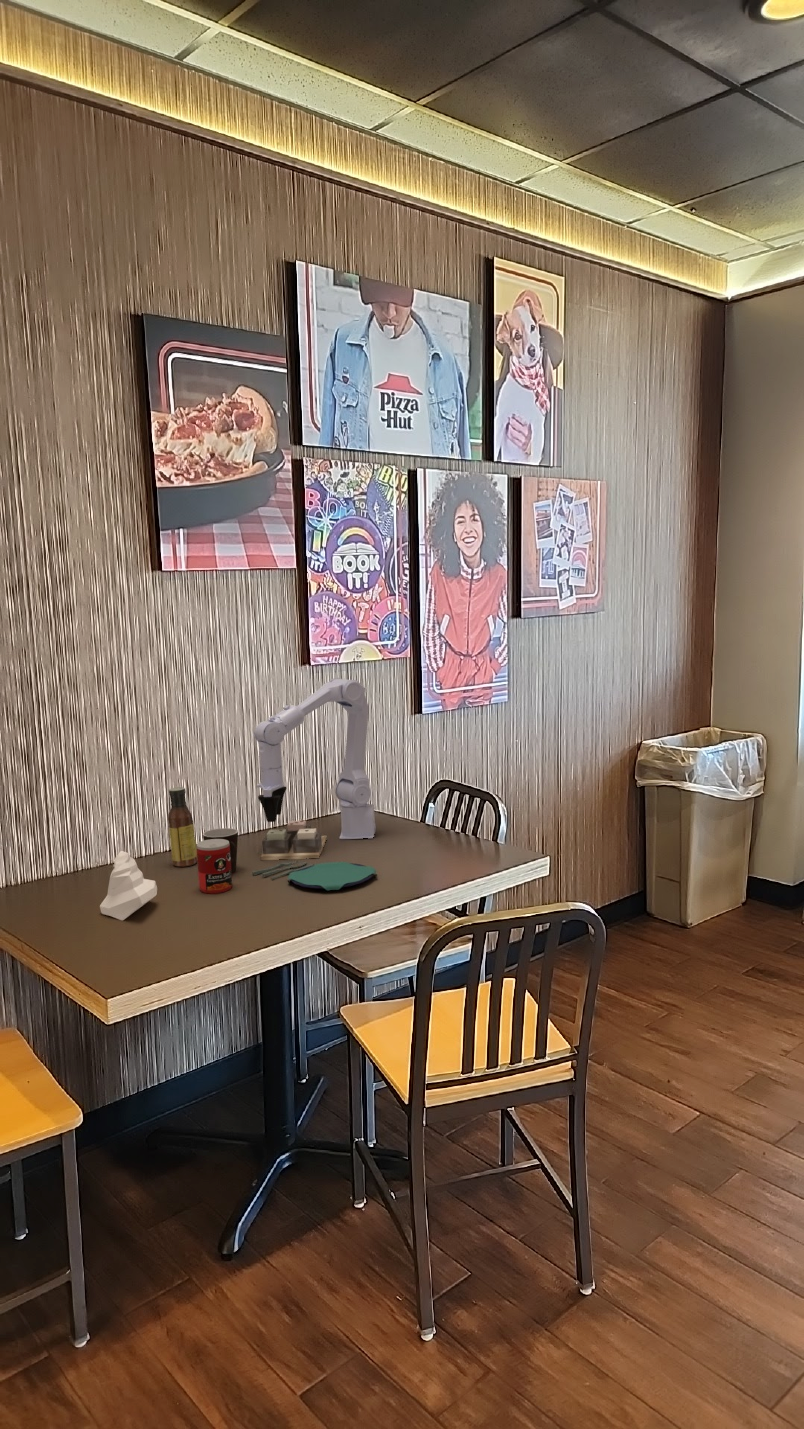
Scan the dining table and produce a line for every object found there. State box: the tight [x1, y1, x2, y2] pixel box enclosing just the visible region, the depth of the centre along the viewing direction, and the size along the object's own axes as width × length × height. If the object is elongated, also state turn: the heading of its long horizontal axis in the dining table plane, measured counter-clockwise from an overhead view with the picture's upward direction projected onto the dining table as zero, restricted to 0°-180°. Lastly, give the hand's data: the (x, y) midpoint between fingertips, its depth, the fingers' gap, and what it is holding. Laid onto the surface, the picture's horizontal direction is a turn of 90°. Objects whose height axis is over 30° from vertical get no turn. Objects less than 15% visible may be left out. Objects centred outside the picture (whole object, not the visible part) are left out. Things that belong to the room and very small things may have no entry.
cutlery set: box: [252, 859, 378, 892], centre depth 231 cm, size 20×30×2 cm, turn 50°
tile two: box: [266, 828, 287, 840], centre depth 252 cm, size 4×4×3 cm
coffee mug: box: [202, 827, 239, 874], centre depth 237 cm, size 12×9×10 cm
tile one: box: [297, 828, 318, 839], centre depth 252 cm, size 4×4×3 cm
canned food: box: [196, 839, 233, 894], centre depth 225 cm, size 8×8×11 cm
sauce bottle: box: [167, 786, 198, 868], centre depth 245 cm, size 6×6×20 cm
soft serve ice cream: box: [99, 850, 158, 921], centre depth 212 cm, size 12×15×14 cm
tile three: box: [286, 820, 307, 831], centre depth 261 cm, size 4×4×3 cm
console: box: [260, 824, 328, 861], centre depth 256 cm, size 15×19×4 cm
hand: (274, 818), depth 252 cm, fingers open, 7 cm apart
